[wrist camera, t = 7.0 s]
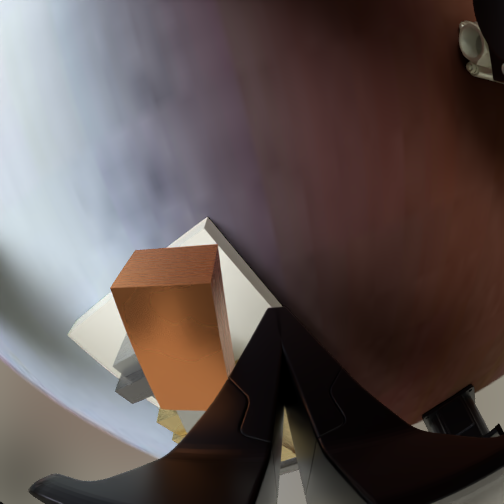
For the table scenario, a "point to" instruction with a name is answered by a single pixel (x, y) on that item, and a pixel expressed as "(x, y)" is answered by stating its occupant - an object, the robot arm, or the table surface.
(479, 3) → the pneumatic valve
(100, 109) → the table surface
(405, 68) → the table surface
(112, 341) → the base plate
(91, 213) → the table surface
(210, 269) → the valve lever
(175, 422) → the valve pipe run
